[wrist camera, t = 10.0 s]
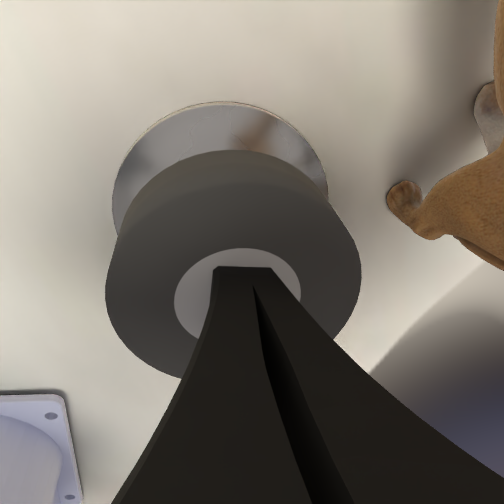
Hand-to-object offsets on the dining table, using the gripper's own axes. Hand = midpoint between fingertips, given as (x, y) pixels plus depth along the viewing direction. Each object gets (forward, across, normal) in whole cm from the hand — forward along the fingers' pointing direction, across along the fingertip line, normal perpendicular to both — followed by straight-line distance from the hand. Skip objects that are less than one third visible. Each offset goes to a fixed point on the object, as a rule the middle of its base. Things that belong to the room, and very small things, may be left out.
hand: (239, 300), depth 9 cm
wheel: (+2, 0, 0) cm, 2 cm away
